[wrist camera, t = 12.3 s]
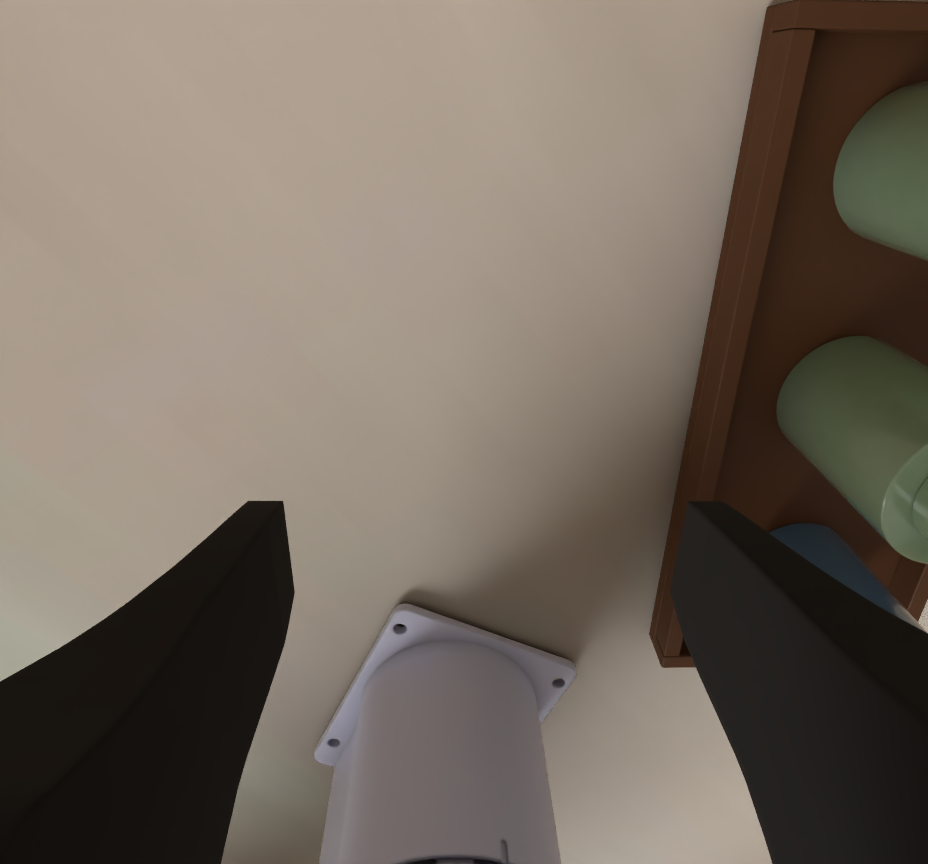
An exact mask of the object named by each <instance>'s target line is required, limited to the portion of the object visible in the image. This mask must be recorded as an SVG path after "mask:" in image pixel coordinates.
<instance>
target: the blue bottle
mask: <svg viewBox="0 0 928 864" xmlns="http://www.w3.org/2000/svg"><path fill="white" fill-rule="evenodd" d="M769 533H770V534H771V535H772V536H774V537H775V538H777V539H778V540H779V541H781V542H782V543H784V544H785V545H786V546H788V547H789V548H791V549H792V550H794V551H795V552H796V553H798V554H799V555H801V556H802V557H804V558H805V559H806V560H808V561H809V562H811V563H812V564H814V565H815V566H817V567H818V568H820V569H821V570H823V571H824V572H826V573H827V574H829V575H830V576H832V577H833V578H835V579H836V580H838V581H839V582H841V583H842V584H844V585H846V586H847V587H849V588H850V589H852V590H854V591H855V592H857V593H858V594H860V595H862V596H863V597H865V598H866V599H868V600H870V601H871V602H873V603H874V604H876V605H878V606H879V607H881V608H883V609H885V610H886V611H888V612H890V613H891V614H893V615H895V616H897V617H898V618H900V619H902V620H904V621H906V622H908V623H910V624H911V625H913V626H915V627H917V628H919V629H921V630H923V631H924V632H926V631H925V630H924V628H923V627H922V626H921V625H920V624H919V623H918V622H917V621H916V619H915V618H914V617H913V616H912V615H911V614H910V613H909V612H908V610H907V609H906V608H905V607H904V606H903V605H902V604H901V602H900V601H899V600H898V599H897V598H896V597H895V596H894V595H893V593H892V592H891V591H890V590H889V589H888V588H887V587H886V586H885V584H884V583H883V582H882V581H881V580H880V579H879V578H878V577H877V575H876V574H875V573H874V572H873V571H872V570H871V569H870V567H869V566H868V565H867V564H866V563H865V562H864V561H863V560H862V558H861V557H860V556H859V555H858V554H857V553H856V552H855V551H854V549H853V548H852V547H851V546H850V545H849V544H848V543H847V541H846V540H845V539H844V538H843V537H842V536H841V535H840V534H839V533H838V532H836V531H835V530H833V529H831V528H829V527H827V526H823V525H820V524H815V523H796V524H790V525H786V526H783V527H780V528H777V529H775V530H773V531H771V532H769ZM926 633H927V632H926Z"/></svg>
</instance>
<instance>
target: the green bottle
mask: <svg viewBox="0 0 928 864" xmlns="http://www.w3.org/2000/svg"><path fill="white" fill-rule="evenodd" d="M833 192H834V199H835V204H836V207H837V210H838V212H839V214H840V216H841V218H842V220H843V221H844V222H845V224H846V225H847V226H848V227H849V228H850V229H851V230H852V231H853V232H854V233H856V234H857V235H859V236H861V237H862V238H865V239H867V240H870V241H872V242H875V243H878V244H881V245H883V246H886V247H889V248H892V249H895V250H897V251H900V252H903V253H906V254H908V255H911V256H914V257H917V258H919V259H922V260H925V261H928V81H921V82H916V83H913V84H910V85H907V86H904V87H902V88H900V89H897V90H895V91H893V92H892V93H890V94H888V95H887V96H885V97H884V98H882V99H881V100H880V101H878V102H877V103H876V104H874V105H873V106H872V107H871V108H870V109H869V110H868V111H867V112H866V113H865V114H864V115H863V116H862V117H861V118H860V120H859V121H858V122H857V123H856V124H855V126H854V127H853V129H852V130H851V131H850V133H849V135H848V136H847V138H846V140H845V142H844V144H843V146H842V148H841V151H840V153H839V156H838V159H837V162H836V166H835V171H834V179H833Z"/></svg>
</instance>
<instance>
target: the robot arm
mask: <svg viewBox="0 0 928 864" xmlns="http://www.w3.org/2000/svg"><path fill="white" fill-rule="evenodd" d="M670 593H671V596H672V600H673V604H674V607H675V611H676V614H677V618H678V621H679V625H680V628H681V631H682V634H683V638H684V641H685V643H686V646H687V648H688V650H689V653H690V655H691V657H692V659H693V662H694V664H695V666H696V668H697V671H698V673H699V675H700V678H701V680H702V682H703V684H704V686H705V689H706V691H707V693H708V695H709V698H710V700H711V702H712V704H713V706H714V709H715V711H716V713H717V715H718V717H719V720H720V722H721V724H722V726H723V729H724V731H725V733H726V735H727V737H728V740H729V742H730V744H731V746H732V749H733V751H734V753H735V755H736V758H737V760H738V763H739V765H740V768H741V770H742V773H743V775H744V778H745V780H746V783H747V786H748V789H749V792H750V795H751V798H752V801H753V804H754V807H755V810H756V813H757V816H758V819H759V822H760V825H761V828H762V831H763V834H764V837H765V840H766V844H767V847H768V850H769V853H770V857H771V860H772V863H773V864H928V633H926V632H924V631H923V630H921V629H919V628H917V627H915V626H913V625H911V624H910V623H908V622H906V621H904V620H902V619H900V618H898V617H897V616H895V615H893V614H891V613H890V612H888V611H886V610H885V609H883V608H881V607H879V606H878V605H876V604H874V603H873V602H871V601H870V600H868V599H866V598H865V597H863V596H862V595H860V594H858V593H857V592H855V591H854V590H852V589H850V588H849V587H847V586H846V585H844V584H842V583H841V582H839V581H838V580H836V579H835V578H833V577H832V576H830V575H829V574H827V573H826V572H824V571H823V570H821V569H820V568H818V567H817V566H815V565H814V564H812V563H811V562H809V561H808V560H806V559H805V558H804V557H802V556H801V555H799V554H798V553H796V552H795V551H794V550H792V549H791V548H789V547H788V546H786V545H785V544H784V543H782V542H781V541H779V540H778V539H777V538H775V537H774V536H772V535H771V534H770V533H768V532H767V531H765V530H764V529H763V528H761V527H760V526H758V525H757V524H756V523H754V522H753V521H751V520H750V519H748V518H747V517H746V516H744V515H743V514H741V513H740V512H738V511H737V510H735V509H734V508H732V507H731V506H729V505H727V504H726V503H724V502H722V501H688V504H687V509H686V514H685V519H684V524H683V529H682V533H681V538H680V543H679V548H678V553H677V558H676V563H675V568H674V573H673V578H672V583H671V588H670ZM293 598H294V584H293V576H292V568H291V560H290V552H289V544H288V536H287V528H286V520H285V512H284V504H283V501H248V502H247V503H245V504H244V505H243V506H242V507H241V508H239V509H238V510H237V511H236V512H235V513H234V514H233V515H232V516H230V517H229V518H228V519H227V520H226V521H225V522H224V523H223V524H222V525H221V526H219V527H218V528H217V529H216V530H215V531H214V532H213V533H212V534H211V535H209V536H208V537H207V538H206V539H205V540H204V541H203V542H201V543H200V544H199V545H198V546H197V547H196V548H195V549H193V550H192V551H191V552H190V553H189V554H188V555H186V556H185V557H184V558H183V559H182V560H181V561H180V562H178V563H177V564H176V565H175V566H174V567H172V568H171V569H170V570H169V571H167V572H166V573H165V574H164V575H162V576H161V577H160V578H158V579H157V580H156V581H155V582H153V583H152V584H151V585H149V586H148V587H147V588H146V589H144V590H143V591H142V592H141V593H139V594H138V595H137V596H135V597H134V598H133V599H132V600H130V601H129V602H128V603H126V604H125V605H124V606H122V607H121V608H119V609H118V610H117V611H115V612H114V613H112V614H111V615H110V616H108V617H107V618H105V619H104V620H102V621H101V622H99V623H98V624H96V625H95V626H93V627H92V628H90V629H89V630H87V631H86V632H84V633H82V634H81V635H79V636H78V637H76V638H75V639H73V640H72V641H70V642H69V643H67V644H65V645H64V646H62V647H60V648H59V649H57V650H55V651H54V652H52V653H50V654H48V655H46V656H45V657H43V658H41V659H39V660H38V661H36V662H34V663H32V664H31V665H29V666H27V667H25V668H24V669H22V670H20V671H18V672H17V673H15V674H13V675H11V676H10V677H8V678H6V679H4V680H2V681H1V682H0V864H221V861H222V856H223V851H224V847H225V842H226V838H227V834H228V829H229V825H230V820H231V816H232V812H233V807H234V803H235V798H236V794H237V790H238V786H239V782H240V779H241V775H242V772H243V768H244V765H245V761H246V758H247V755H248V752H249V749H250V746H251V743H252V740H253V737H254V734H255V731H256V728H257V725H258V722H259V719H260V716H261V713H262V711H263V708H264V705H265V702H266V699H267V696H268V693H269V690H270V687H271V684H272V681H273V678H274V675H275V672H276V669H277V666H278V662H279V659H280V656H281V653H282V650H283V647H284V644H285V639H286V634H287V630H288V625H289V620H290V614H291V609H292V603H293ZM396 624H403V625H405V626H403V627H398V626H396ZM576 675H577V671H576V667H575V664H574V663H573V662H571V661H570V660H567V659H564V658H561V657H559V656H556V655H553V654H550V653H547V652H544V651H542V650H539V649H536V648H533V647H530V646H527V645H525V644H522V643H519V642H516V641H513V640H510V639H508V638H505V637H502V636H499V635H496V634H493V633H491V632H488V631H485V630H482V629H479V628H476V627H474V626H471V625H468V624H465V623H462V622H459V621H457V620H454V619H451V618H448V617H445V616H442V615H440V614H437V613H434V612H431V611H428V610H425V609H423V608H420V607H417V606H414V605H411V604H400V605H398V606H396V607H395V608H394V610H393V611H392V613H391V615H390V617H389V618H388V620H387V622H386V624H385V626H384V627H383V629H382V631H381V633H380V634H379V636H378V638H377V640H376V641H375V643H374V645H373V647H372V649H371V650H370V652H369V654H368V656H367V657H366V659H365V661H364V663H363V664H362V666H361V668H360V670H359V672H358V673H357V675H356V677H355V679H354V680H353V682H352V684H351V686H350V687H349V689H348V691H347V693H346V695H345V696H344V698H343V700H342V702H341V703H340V705H339V707H338V709H337V710H336V712H335V714H334V716H333V718H332V719H331V721H330V723H329V725H328V726H327V728H326V730H325V732H324V733H323V735H322V737H321V739H320V741H319V742H318V744H317V746H316V748H315V753H314V758H315V760H316V761H317V762H319V763H321V764H324V765H328V766H331V767H334V772H333V778H332V784H331V791H330V797H329V803H328V809H327V815H326V822H325V828H324V834H323V840H322V846H321V853H320V859H319V864H561V859H560V853H559V846H558V840H557V833H556V826H555V820H554V813H553V806H552V800H551V793H550V787H549V780H548V773H547V767H546V760H545V753H544V747H543V740H542V733H541V727H540V724H541V722H542V721H543V720H544V718H545V717H546V716H547V714H548V713H549V712H550V710H551V709H552V708H553V706H554V705H555V704H556V703H557V701H558V700H559V699H560V697H561V696H562V695H563V693H564V692H565V691H566V689H567V688H568V687H569V685H570V684H571V683H572V682H573V680H574V679H575V677H576ZM555 679H561V680H555Z"/></svg>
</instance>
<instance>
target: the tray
mask: <svg viewBox="0 0 928 864" xmlns="http://www.w3.org/2000/svg"><path fill="white" fill-rule="evenodd" d="M921 81H928V2H912V1H869V0H793V1H789V2H785V3H781V4H778V5H774V6H770V7H768V8H767V10H766V15H765V20H764V26H763V31H762V36H761V42H760V47H759V52H758V58H757V63H756V68H755V74H754V79H753V84H752V90H751V95H750V100H749V106H748V111H747V116H746V122H745V127H744V132H743V137H742V143H741V148H740V153H739V159H738V164H737V169H736V175H735V180H734V185H733V191H732V196H731V201H730V207H729V212H728V217H727V223H726V228H725V233H724V239H723V244H722V249H721V255H720V260H719V265H718V271H717V276H716V281H715V287H714V292H713V297H712V303H711V308H710V313H709V319H708V324H707V329H706V335H705V340H704V345H703V351H702V356H701V361H700V367H699V372H698V377H697V383H696V388H695V393H694V399H693V404H692V409H691V414H690V420H689V425H688V430H687V436H686V441H685V446H684V452H683V457H682V462H681V468H680V473H679V478H678V484H677V489H676V494H675V500H674V505H673V510H672V516H671V521H670V526H669V532H668V537H667V542H666V548H665V553H664V558H663V564H662V569H661V574H660V580H659V585H658V590H657V596H656V601H655V606H654V612H653V617H652V622H651V628H650V633H649V635H650V637H651V640H652V643H653V644H654V648H655V651H656V653H657V656H658V659H659V661H660V664H661V667H663V668H672V667H696V666H695V664H694V662H693V659H692V657H691V655H690V653H689V650H688V648H687V646H686V643H685V641H684V638H683V634H682V631H681V628H680V625H679V621H678V618H677V614H676V611H675V607H674V604H673V600H672V596H671V593H670V588H671V583H672V578H673V573H674V568H675V563H676V558H677V553H678V548H679V543H680V538H681V533H682V529H683V524H684V519H685V514H686V509H687V504H688V501H722V502H724V503H726V504H727V505H729V506H731V507H732V508H734V509H735V510H737V511H738V512H740V513H741V514H743V515H744V516H746V517H747V518H748V519H750V520H751V521H753V522H754V523H756V524H757V525H758V526H760V527H761V528H763V529H764V530H765V531H767V532H768V533H769V532H771V531H773V530H775V529H777V528H780V527H783V526H786V525H790V524H796V523H815V524H820V525H823V526H827V527H829V528H831V529H833V530H835V531H836V532H838V533H839V534H840V535H841V536H842V537H843V538H844V539H845V540H846V541H847V543H848V544H849V545H850V546H851V547H852V548H853V549H854V551H855V552H856V553H857V554H858V555H859V556H860V557H861V558H862V560H863V561H864V562H865V563H866V564H867V565H868V566H869V567H870V569H871V570H872V571H873V572H874V573H875V574H876V575H877V577H878V578H879V579H880V580H881V581H882V582H883V583H884V584H885V586H886V587H887V588H888V589H889V590H890V591H891V592H892V593H893V595H894V596H895V597H896V598H897V599H898V600H899V601H900V602H901V604H902V605H903V606H904V607H905V608H906V609H907V610H908V612H909V613H910V614H911V615H912V616H913V617H914V618H915V619H916V621H917V622H918V621H919V618H920V616H921V613H922V611H923V609H924V606H925V604H926V602H927V599H928V564H925V563H920V562H916V561H913V560H910V559H908V558H906V557H904V556H902V555H901V554H899V553H898V552H896V551H895V550H894V549H893V548H892V547H891V546H890V545H889V544H888V543H887V542H886V541H885V540H884V539H883V538H882V537H881V536H880V535H879V534H878V532H877V531H876V530H875V529H874V528H873V527H872V526H871V525H870V524H869V523H868V522H867V521H866V520H865V519H864V518H863V517H862V516H861V515H860V514H859V513H858V512H857V511H856V510H855V509H854V508H853V507H852V506H851V505H850V504H849V503H848V502H847V501H846V500H845V499H844V498H843V497H842V495H841V494H840V493H839V492H838V491H837V490H836V489H835V488H834V487H833V486H832V485H831V484H830V483H829V482H828V481H827V480H826V479H825V478H824V477H823V476H822V475H821V474H820V473H819V472H818V471H817V470H816V469H815V468H814V467H813V466H812V465H811V464H810V463H809V462H808V461H807V460H806V458H805V457H804V456H803V455H802V454H801V453H800V452H799V451H798V450H797V449H796V448H795V447H794V446H793V445H792V444H791V443H790V442H789V441H788V440H787V439H786V438H785V436H784V435H783V433H782V432H781V430H780V427H779V424H778V421H777V414H776V408H777V400H778V395H779V392H780V389H781V387H782V385H783V383H784V381H785V379H786V378H787V376H788V374H789V373H790V372H791V370H792V369H793V368H794V367H795V366H796V365H797V363H798V362H799V361H800V360H801V359H803V358H804V357H805V356H806V355H807V354H809V353H810V352H812V351H813V350H815V349H816V348H818V347H820V346H822V345H823V344H826V343H828V342H831V341H833V340H836V339H840V338H844V337H850V336H870V337H875V338H878V339H881V340H884V341H886V342H888V343H889V344H891V345H893V346H894V347H896V348H898V349H900V350H901V351H903V352H905V353H907V354H908V355H910V356H912V357H914V358H915V359H917V360H919V361H921V362H922V363H924V364H926V365H927V366H928V261H925V260H922V259H919V258H917V257H914V256H911V255H908V254H906V253H903V252H900V251H897V250H895V249H892V248H889V247H886V246H883V245H881V244H878V243H875V242H872V241H870V240H867V239H865V238H862V237H861V236H859V235H857V234H856V233H854V232H853V231H852V230H851V229H850V228H849V227H848V226H847V225H846V224H845V222H844V221H843V220H842V218H841V216H840V214H839V212H838V210H837V207H836V204H835V199H834V192H833V179H834V171H835V166H836V162H837V159H838V156H839V153H840V151H841V148H842V146H843V144H844V142H845V140H846V138H847V136H848V135H849V133H850V131H851V130H852V129H853V127H854V126H855V124H856V123H857V122H858V121H859V120H860V118H861V117H862V116H863V115H864V114H865V113H866V112H867V111H868V110H869V109H870V108H871V107H872V106H873V105H874V104H876V103H877V102H878V101H880V100H881V99H882V98H884V97H885V96H887V95H888V94H890V93H892V92H893V91H895V90H897V89H900V88H902V87H904V86H907V85H910V84H913V83H916V82H921Z"/></svg>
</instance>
